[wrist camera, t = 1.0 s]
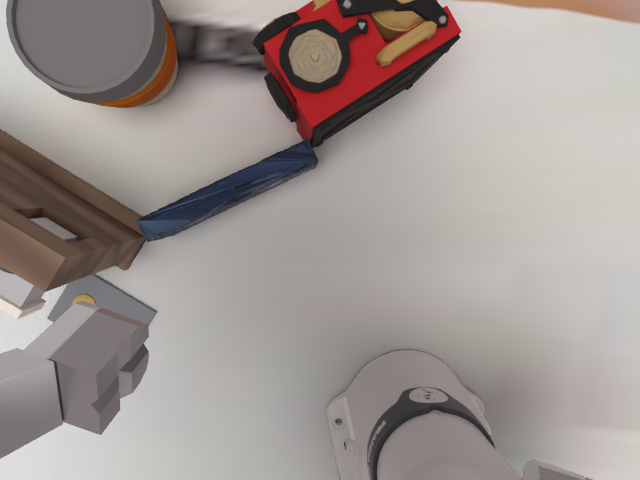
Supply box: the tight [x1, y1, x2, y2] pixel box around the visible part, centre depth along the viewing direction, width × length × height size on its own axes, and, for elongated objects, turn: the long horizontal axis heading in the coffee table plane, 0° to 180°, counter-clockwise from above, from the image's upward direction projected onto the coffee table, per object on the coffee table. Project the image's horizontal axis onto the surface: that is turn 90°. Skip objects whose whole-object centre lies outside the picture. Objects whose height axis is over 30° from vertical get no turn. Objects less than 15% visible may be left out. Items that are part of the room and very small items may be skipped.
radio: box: [253, 0, 461, 148], centre depth 49 cm, size 16×10×20 cm, turn 122°
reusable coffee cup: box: [6, 0, 178, 108], centre depth 50 cm, size 13×12×15 cm
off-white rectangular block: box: [0, 218, 78, 319], centre depth 44 cm, size 7×4×4 cm, turn 148°
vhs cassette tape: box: [136, 139, 318, 242], centre depth 54 cm, size 18×3×10 cm, turn 114°
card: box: [48, 274, 156, 325], centre depth 59 cm, size 7×10×1 cm
